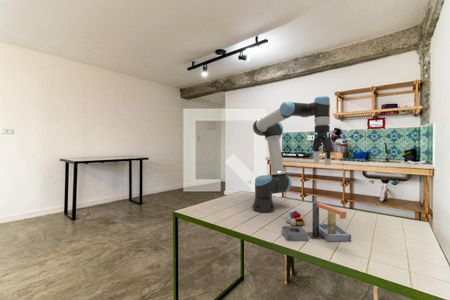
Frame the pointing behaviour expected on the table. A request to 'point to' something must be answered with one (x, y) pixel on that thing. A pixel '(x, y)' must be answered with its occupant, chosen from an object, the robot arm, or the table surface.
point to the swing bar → (331, 209)
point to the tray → (338, 237)
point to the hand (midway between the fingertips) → (321, 163)
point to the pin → (331, 222)
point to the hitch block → (294, 233)
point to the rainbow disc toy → (295, 219)
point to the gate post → (315, 225)
